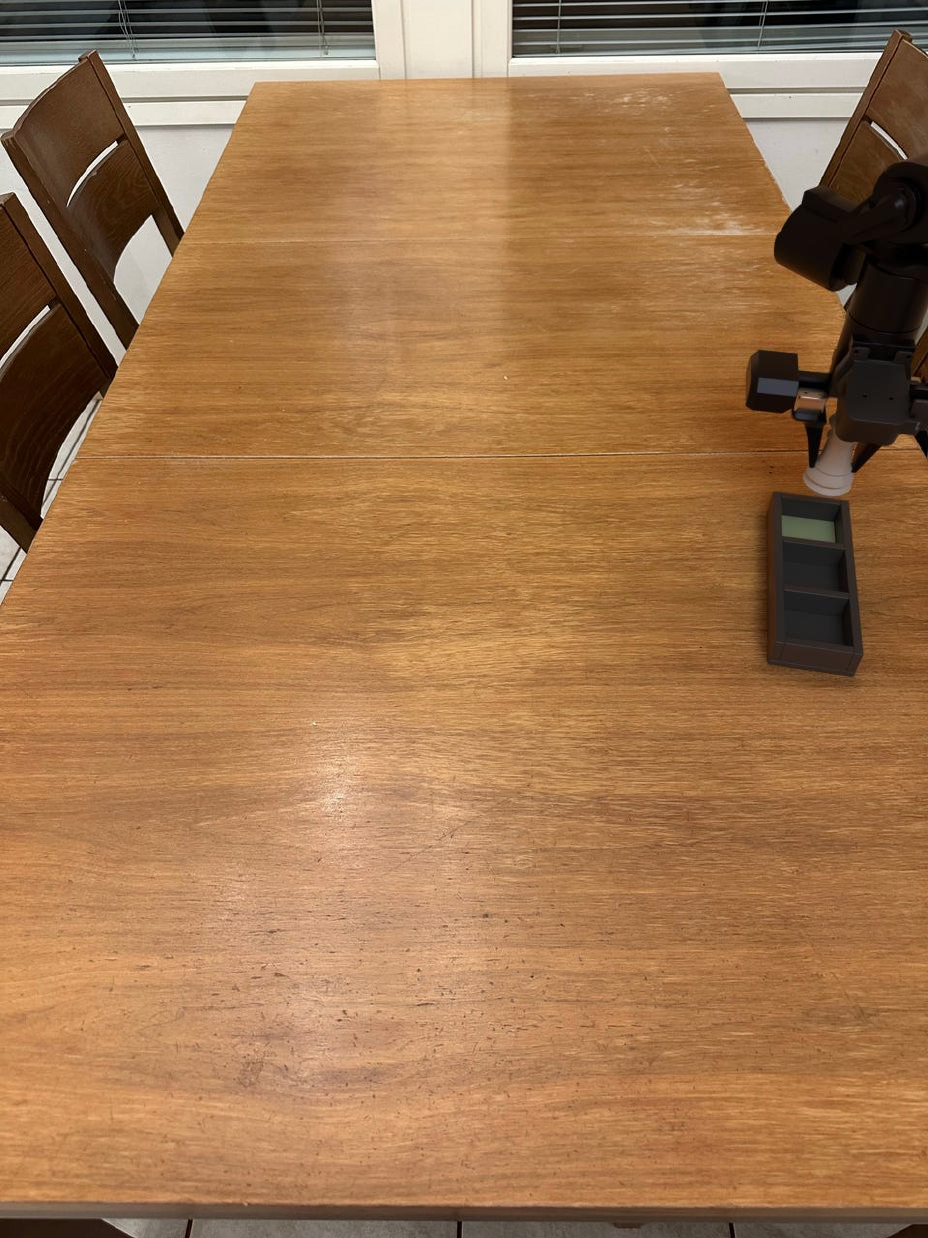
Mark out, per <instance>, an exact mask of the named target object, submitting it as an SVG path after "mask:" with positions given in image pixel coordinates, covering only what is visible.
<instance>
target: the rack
mask: <svg viewBox="0 0 928 1238" xmlns="http://www.w3.org/2000/svg"><path fill="white" fill-rule="evenodd" d="M765 517H766V521H765V522H766V523H765V524H766V526H765V527H766V608H767V609H766V612H767V613H766V615H767V617H766V619H767V622H766V623H767V625H766V626H767V630H766V631H767V665H769V666H770V665H771V666H776V667H777V666H778V667H783V668H789V669H790V668H791V669H798V670H803V671H809V672H810V671H811V672H815V673H816V672H818V673H824V674H829V675H830V674H831V675H838V676H843V677H849V678H853V677H854V676H855V674H856V672H857V670H858V668H859V666H860V664H861V661H862V660H863V657H864V655H865V654H864V653H865V652H864V642H863V633H862V632H863V631H862V622H861V613H860V603H859V593H858V581H857V572H856V560H855V550H854V542H853V541H854V540H853V531H852V530H853V529H852V521H851V511H850V501H849V500H847V499H839V498H828V497H822V496H813V495H806V494H798V493H789V492H781V491H775V490H774V491H772V494H771V497H770V500H769V503H768V507H767V510H766V514H765Z"/></svg>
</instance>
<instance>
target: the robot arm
mask: <svg viewBox="0 0 928 1238" xmlns="http://www.w3.org/2000/svg"><path fill="white" fill-rule="evenodd" d="M871 193H872V194H870V195H869V196H868V197H867V198H865V200H863V201H862V202H861V203H858V202H856V201H854V200H851V199H849V198H847V197H845V196H842V195H840V194H839V193H838V192H837V191H836V190H834V189H833V188H831V187H829V186H828V185H827V186H826V185H824V184H819V185H817V186H813V187H811V188H809V189H806V190H804V192H803V195H802V199H801V202H800V204H799V205H798V206H797V207H796V208H795V209H793V210H792V212H791V213H790V215H788V217H787V218H786V220H785V222H784V223H783V225H782V227H781V229H780V231H779V232H778V233H777V234H776V236H775V239H774V244H773V257H774V260H775V262H776V263H777V264H778V265H780V266H781V267H783V268H785V269H787V270H788V271H790V272H793V273H795V274H797V275H799V276H800V277H802V278H804V279H805V280H808V281H810V282H811V283H813V284H815V285H817V286H819V287H821V288H823V289H824V290H826V291H829V292H831V293H837V292H840V291H842V290H844V289H845V288H847V287H848V286H855V288H854V291H853V294H852V297H851V300H850V303H849V305H848V306H847V309H846V312H845V315H844V319H845V320H844V322H843V325H842V328H841V332H840V334H839V338H838V341H837V344H836V348H834V349H833V353H832V357H831V363H830V365H829V368H828V369H829V370H828V371H819V370H817V371H811V370H801V369H799V354H798V353H796V352H787V351H776V350H767V349H766V350H764V349H758V350H756V351H755V352H754V353H752V354H751V355H750V356H749V358H748V363H747V365H746V366H747V367H746V371H745V396H744V397H745V399H744V406H745V407H746V408H747V409H749V410H750V411H752V412H753V411H754V412H763V413H772V414H781V415H783V414H785V413H786V412H788V411H790V417H791V419H792V420H793V421H795V422H798V423H799V422H800V423H802V424H803V425H804V429H805V433H806V438H807V454H808V455H807V456H808V464H809V468H814V466H815V463H816V461H817V458H818V455H819V454H820V448H821V444H822V437H823V432H824V428H825V426H826V424H827V423H828V417H827V407H826V403H827V402H828V400H829V399H832V400H836V410H837V412H836V411H835V413H836V425H835V434H836V436H837V437H838V438H839V439H840V440H842V441H844V442H850V443H852V442H858V443H857V444H856V445H855V447H854V448H855V449H854V450H853V454H852V458H851V463H852V470H851V473H854V474H857V473H858V472H859V471H860V469H862V468H863V466H865V465H866V463H867V462H868V461H869V460H870V459H872V457H873V456H874V455H875V454H876V453H877V452H878V451H879V450H880V449H881V448H882V447H888V446H892V445H893V444H895V442H896V440H897V439H898V437H899V436H900V435H906V436H913V437H914V436H915V437H916V436H917V435H918V433H919V432H920V431H927V430H928V367H926V368H925V369H923V370H922V372H921V373H922V374H921V376H920V377H918V376H912V363H913V360H914V357H915V353H916V350H917V344H916V340H917V338H918V335H919V333H920V330H921V328H922V325H923V322H924V319H925V317H926V315H927V311H928V150H926V151H924V152H921V153H919V154H916V155H913V156H910V157H907V158H905V159H902V160H899V161H897V162H894V163H892V164H889V165H888V166H887V167H886V168H885V169H884V171H883V172H882V173H881V174H880V175H879V176H878V178H877V180H876V182H875V183H874V185H873V188H872V192H871Z"/></svg>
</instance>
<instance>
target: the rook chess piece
mask: <svg viewBox="0 0 928 1238" xmlns="http://www.w3.org/2000/svg"><path fill="white" fill-rule="evenodd" d="M836 412H837V409H836V410H835V413H832V414H831V415H830V416H829V417H828V424H829V426H830V429H828V430H827V432H826V438H827V439H826V442H825V444H824V446H823V447H822V449H821V451H820V452H819V454H818V458H817V461H816V463H815V466H814V468H809V463H808V464H807V466H806V470H805V471H804V473H803V475H802V476H803V477H802V481H803V482H804V484H805V486H806V488H807V489H808V490H809V491H810V492H811V493H813V494H815V495H817V496H818V497H823V498H831V499H833V498H838V497H839V498H840V497H841V496H843V495H845V494H847V493H848V492H849V491H850V490H851V489H852V485H853V483H852V482H853V481H854V479H855V478H854V477H855V473H851V470H852V463H851V462H852V458H853V454H854V450H855V449H854V448H855V447H856V446H857V443H858V442H852V443H850V442H844V441H842V440H840V439H839V438H838V437H837V436H836V434H835V425H836Z"/></svg>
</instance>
